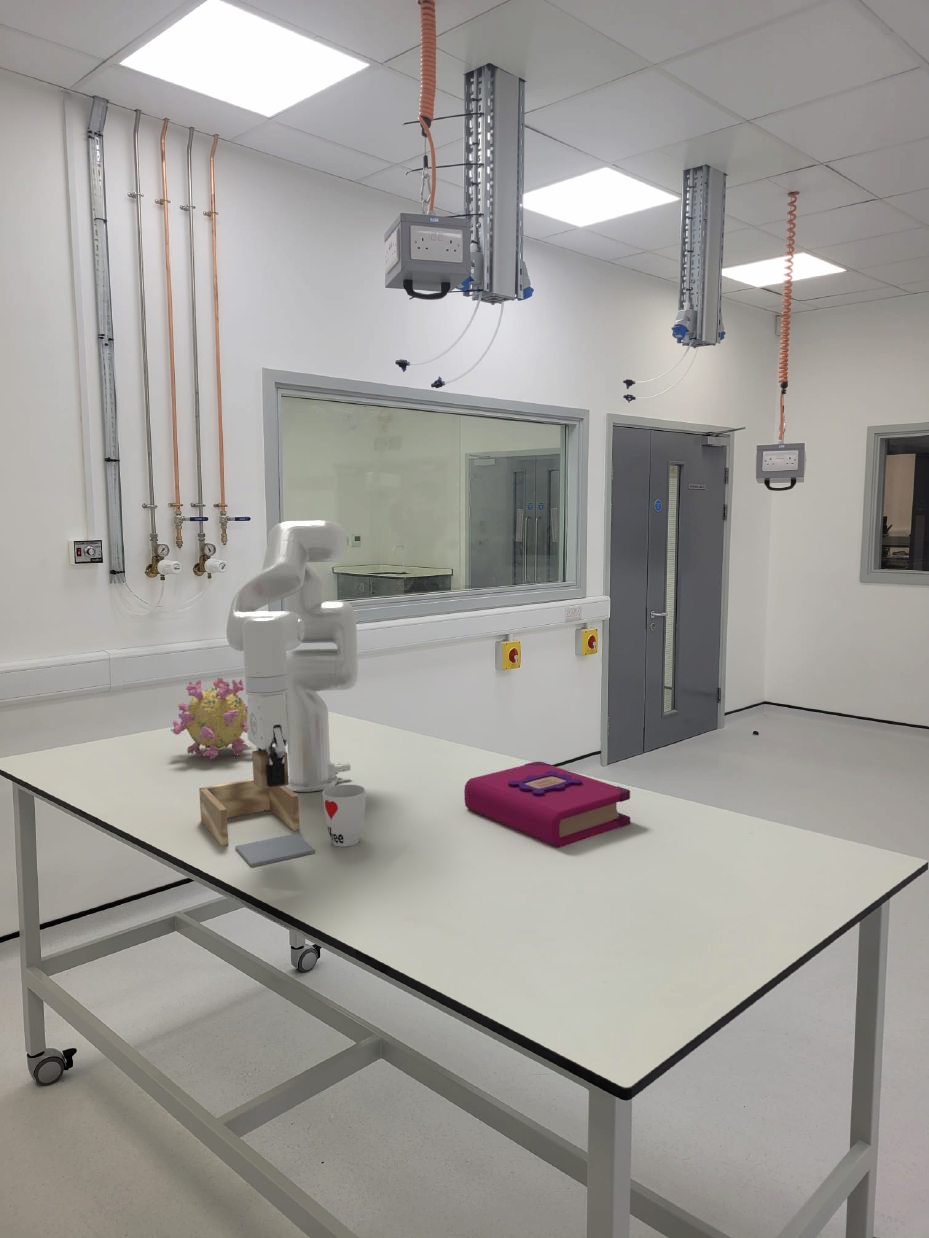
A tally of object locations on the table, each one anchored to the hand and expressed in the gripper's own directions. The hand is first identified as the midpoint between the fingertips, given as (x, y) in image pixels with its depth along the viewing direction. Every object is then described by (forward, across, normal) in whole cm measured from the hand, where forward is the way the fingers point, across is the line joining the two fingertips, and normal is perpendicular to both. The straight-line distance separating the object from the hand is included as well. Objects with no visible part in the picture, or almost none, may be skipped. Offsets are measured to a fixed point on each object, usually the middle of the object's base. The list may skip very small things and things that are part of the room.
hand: (271, 780), depth 160 cm
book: (+14, +13, +53) cm, 56 cm away
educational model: (+13, -73, +9) cm, 75 cm away
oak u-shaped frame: (+14, -16, 0) cm, 21 cm away
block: (+1, 0, 0) cm, 1 cm away
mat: (+14, 0, 0) cm, 14 cm away
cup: (+14, +3, +13) cm, 19 cm away
